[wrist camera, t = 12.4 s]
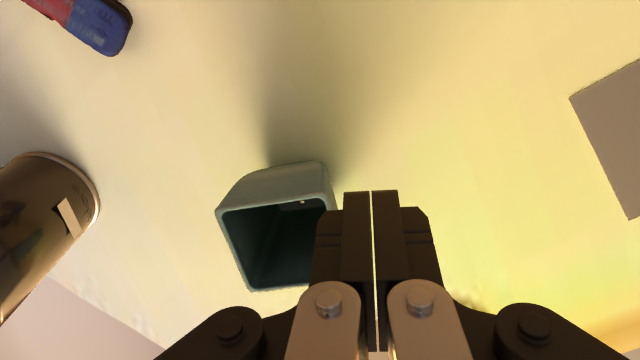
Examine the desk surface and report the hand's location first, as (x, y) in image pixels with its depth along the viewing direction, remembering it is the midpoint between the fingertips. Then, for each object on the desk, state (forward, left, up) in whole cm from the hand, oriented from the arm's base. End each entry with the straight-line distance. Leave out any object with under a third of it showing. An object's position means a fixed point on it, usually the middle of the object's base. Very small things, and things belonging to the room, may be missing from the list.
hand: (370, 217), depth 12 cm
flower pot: (-7, -14, -25) cm, 29 cm away
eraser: (-23, +4, -25) cm, 34 cm away
